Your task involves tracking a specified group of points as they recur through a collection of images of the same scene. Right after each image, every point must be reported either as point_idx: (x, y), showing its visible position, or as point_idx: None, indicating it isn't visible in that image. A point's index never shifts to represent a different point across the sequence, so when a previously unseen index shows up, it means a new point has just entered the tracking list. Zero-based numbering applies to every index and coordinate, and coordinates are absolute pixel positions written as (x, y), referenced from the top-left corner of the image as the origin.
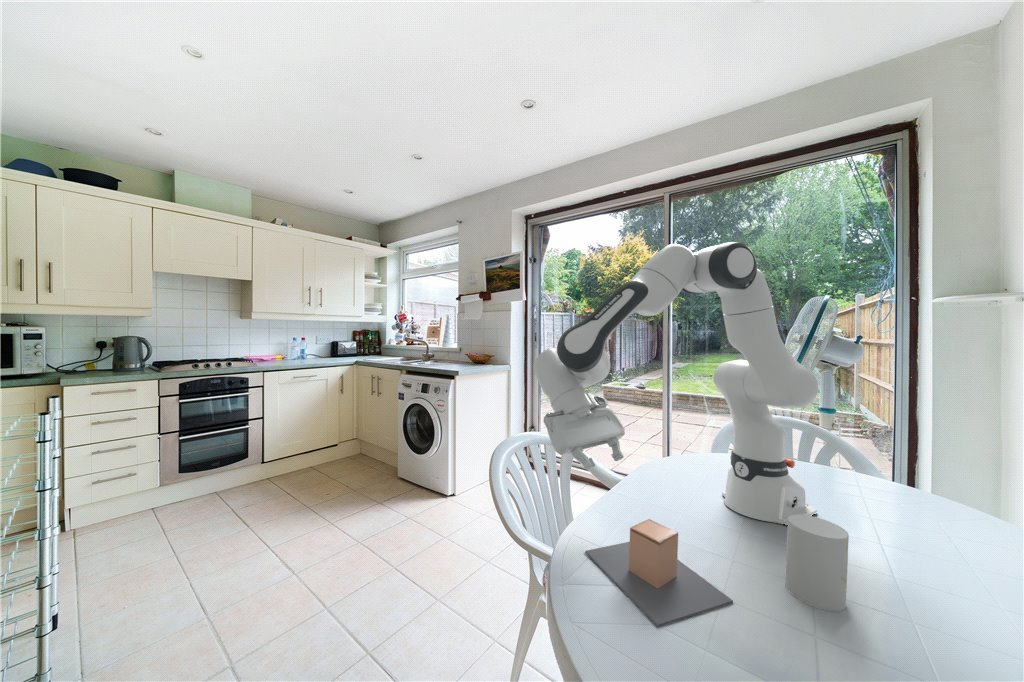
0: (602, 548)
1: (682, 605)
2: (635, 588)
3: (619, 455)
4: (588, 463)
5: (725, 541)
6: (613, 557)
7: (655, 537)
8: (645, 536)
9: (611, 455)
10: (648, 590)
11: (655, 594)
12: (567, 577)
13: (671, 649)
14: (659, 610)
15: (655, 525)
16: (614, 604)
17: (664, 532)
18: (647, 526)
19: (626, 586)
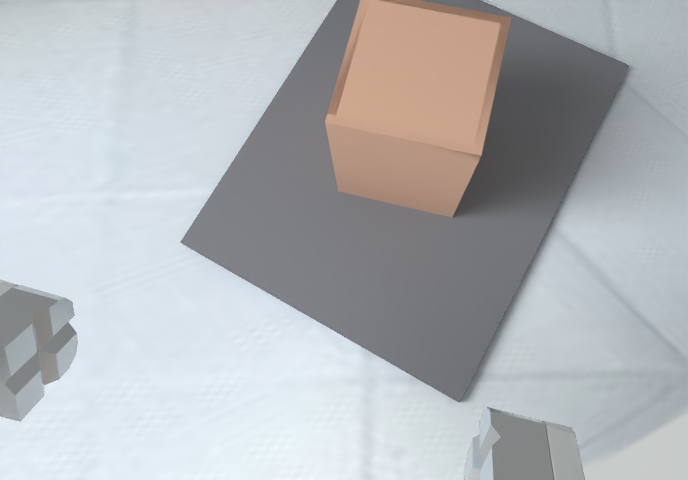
0: (390, 354)
1: None
2: (528, 164)
3: (36, 303)
4: (579, 461)
5: (15, 34)
6: (417, 292)
7: (480, 42)
8: (495, 81)
9: (26, 414)
10: (506, 131)
11: (509, 108)
12: (649, 375)
13: (668, 23)
14: (569, 79)
15: (367, 79)
16: (638, 190)
17: (405, 30)
18: (406, 101)
19: (543, 188)
